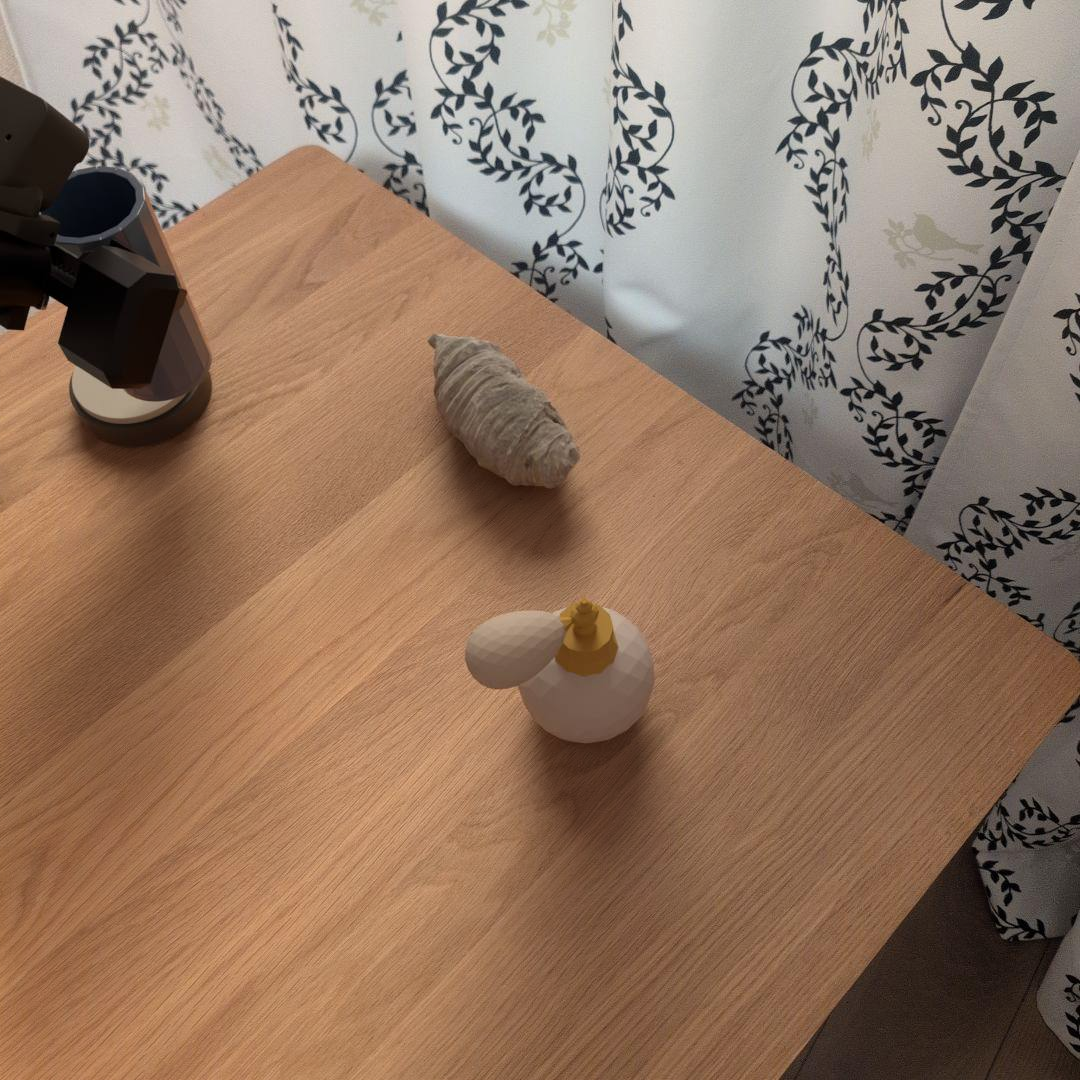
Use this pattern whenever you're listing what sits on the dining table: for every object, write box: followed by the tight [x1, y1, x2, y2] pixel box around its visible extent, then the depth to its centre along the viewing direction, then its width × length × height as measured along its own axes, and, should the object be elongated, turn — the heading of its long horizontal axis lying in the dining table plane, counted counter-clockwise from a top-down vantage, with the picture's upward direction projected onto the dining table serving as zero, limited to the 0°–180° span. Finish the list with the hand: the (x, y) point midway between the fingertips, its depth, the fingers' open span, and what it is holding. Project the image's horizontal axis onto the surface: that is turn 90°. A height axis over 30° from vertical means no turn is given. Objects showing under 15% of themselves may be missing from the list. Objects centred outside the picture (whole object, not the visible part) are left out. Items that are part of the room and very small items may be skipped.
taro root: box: [427, 333, 581, 489], centre depth 73 cm, size 6×14×8 cm, turn 36°
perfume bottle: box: [464, 596, 655, 744], centre depth 60 cm, size 8×10×12 cm
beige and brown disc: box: [68, 365, 213, 448], centre depth 78 cm, size 9×9×3 cm
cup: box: [39, 165, 213, 402], centre depth 67 cm, size 6×6×13 cm
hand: (145, 275), depth 67 cm, fingers closed on cup, 6 cm apart
